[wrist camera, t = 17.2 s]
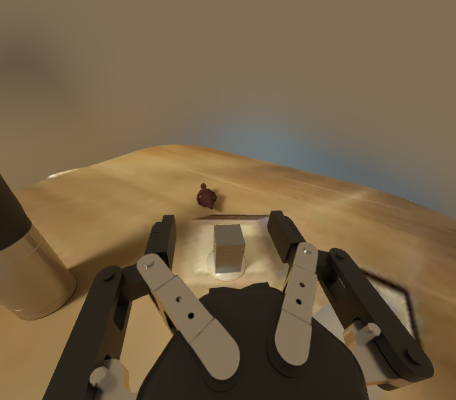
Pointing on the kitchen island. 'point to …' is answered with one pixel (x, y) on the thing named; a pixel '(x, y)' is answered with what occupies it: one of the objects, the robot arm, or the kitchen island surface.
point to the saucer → (224, 276)
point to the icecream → (206, 197)
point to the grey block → (228, 248)
